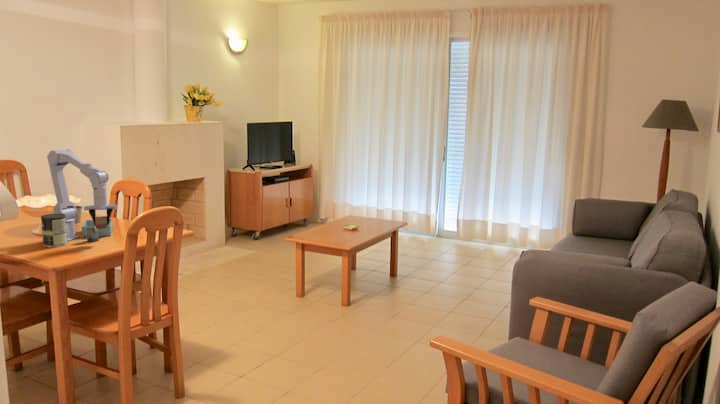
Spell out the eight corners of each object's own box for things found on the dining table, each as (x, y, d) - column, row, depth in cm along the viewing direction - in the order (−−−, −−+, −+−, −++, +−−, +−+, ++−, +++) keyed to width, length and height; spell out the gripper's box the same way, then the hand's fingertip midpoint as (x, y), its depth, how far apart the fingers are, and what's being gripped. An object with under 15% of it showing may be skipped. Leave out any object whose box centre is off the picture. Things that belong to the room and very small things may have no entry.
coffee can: (41, 248, 270) (39, 218, 268) (44, 242, 279) (42, 214, 277) (66, 246, 274) (64, 217, 271) (68, 241, 283) (66, 213, 281)
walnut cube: (107, 228, 277) (106, 218, 276) (95, 229, 276) (95, 218, 275) (108, 226, 282) (107, 216, 281) (96, 226, 280) (96, 216, 279)
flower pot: (87, 221, 329) (86, 206, 327) (75, 224, 320) (74, 209, 318) (73, 220, 331) (72, 205, 330) (61, 223, 322) (60, 208, 321)
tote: (110, 236, 295) (110, 225, 294) (82, 237, 291) (81, 226, 290) (113, 228, 311) (112, 218, 310) (86, 230, 307) (85, 220, 306)
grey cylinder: (98, 241, 284) (97, 227, 282) (87, 242, 282) (86, 228, 281) (99, 239, 288) (98, 225, 287) (88, 240, 287) (87, 226, 285)
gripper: (82, 198, 270) (84, 227, 272) (115, 197, 275) (117, 225, 277) (84, 196, 277) (85, 223, 279) (117, 195, 281) (118, 222, 284)
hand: (101, 224), depth 279 cm, fingers closed on walnut cube, 5 cm apart
